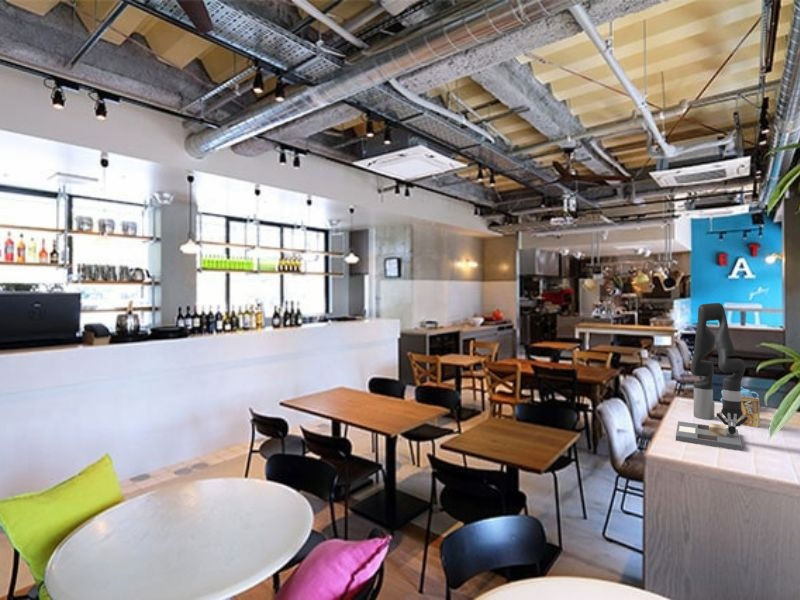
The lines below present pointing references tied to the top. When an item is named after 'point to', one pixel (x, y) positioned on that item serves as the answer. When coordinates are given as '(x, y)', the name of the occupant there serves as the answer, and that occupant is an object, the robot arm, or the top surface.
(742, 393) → the decorative pot
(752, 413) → the candy box
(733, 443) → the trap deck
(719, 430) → the maple block
